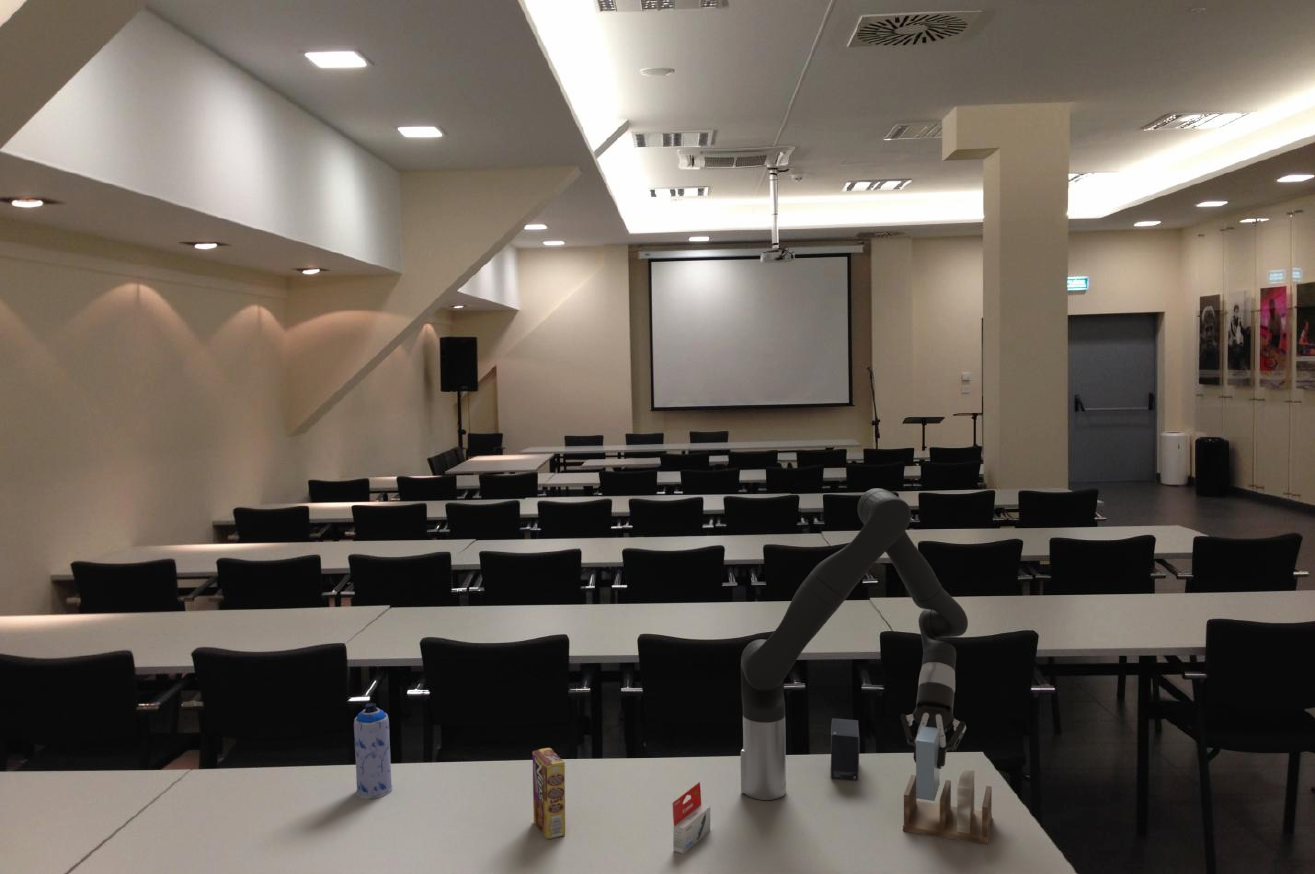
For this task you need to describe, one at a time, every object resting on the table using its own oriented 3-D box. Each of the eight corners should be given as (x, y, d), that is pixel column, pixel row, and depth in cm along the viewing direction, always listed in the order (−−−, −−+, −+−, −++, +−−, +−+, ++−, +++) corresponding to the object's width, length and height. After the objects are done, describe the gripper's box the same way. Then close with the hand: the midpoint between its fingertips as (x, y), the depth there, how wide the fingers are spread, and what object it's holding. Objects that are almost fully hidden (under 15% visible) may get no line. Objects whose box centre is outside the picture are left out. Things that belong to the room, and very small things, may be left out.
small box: (859, 781, 214) (859, 736, 213) (830, 779, 215) (829, 734, 215) (859, 762, 225) (858, 719, 224) (831, 760, 226) (830, 717, 225)
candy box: (567, 835, 192) (565, 762, 191) (547, 840, 190) (545, 766, 189) (552, 817, 200) (550, 746, 199) (533, 822, 198) (530, 750, 197)
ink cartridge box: (711, 830, 193) (710, 783, 192) (683, 855, 184) (682, 806, 183) (700, 827, 194) (699, 781, 194) (672, 851, 185) (671, 803, 184)
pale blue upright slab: (916, 798, 192) (915, 740, 191) (922, 782, 199) (921, 726, 198) (934, 801, 190) (933, 743, 189) (939, 784, 198) (939, 728, 197)
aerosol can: (400, 788, 216) (396, 702, 214) (372, 801, 209) (368, 713, 208) (376, 780, 220) (372, 696, 219) (348, 794, 213) (344, 706, 212)
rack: (902, 830, 191) (902, 782, 191) (912, 804, 202) (912, 759, 201) (986, 844, 185) (987, 795, 184) (991, 817, 196) (992, 770, 195)
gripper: (900, 677, 206) (891, 753, 195) (969, 684, 200) (963, 763, 190) (905, 693, 211) (896, 768, 201) (971, 700, 205) (966, 778, 195)
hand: (928, 765), depth 195 cm, fingers closed on pale blue upright slab, 3 cm apart
